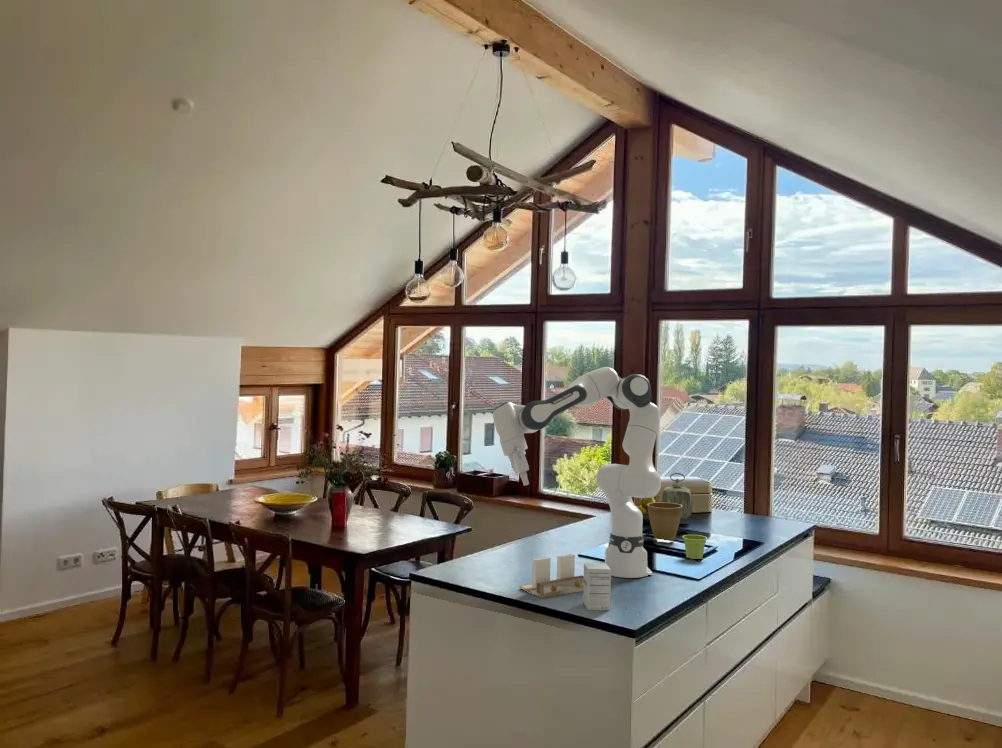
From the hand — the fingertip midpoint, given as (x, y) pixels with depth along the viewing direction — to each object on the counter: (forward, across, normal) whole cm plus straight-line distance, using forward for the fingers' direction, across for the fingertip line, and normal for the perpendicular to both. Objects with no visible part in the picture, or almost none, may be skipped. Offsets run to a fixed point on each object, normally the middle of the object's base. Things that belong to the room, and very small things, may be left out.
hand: (526, 485), depth 279 cm
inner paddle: (+35, -10, -2) cm, 36 cm away
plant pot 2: (+47, +34, -57) cm, 82 cm away
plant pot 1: (+41, +65, -54) cm, 94 cm away
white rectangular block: (+33, -15, +7) cm, 37 cm away
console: (+35, -13, +3) cm, 38 cm away
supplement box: (+42, -31, -7) cm, 53 cm away
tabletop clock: (+40, +105, -72) cm, 134 cm away
